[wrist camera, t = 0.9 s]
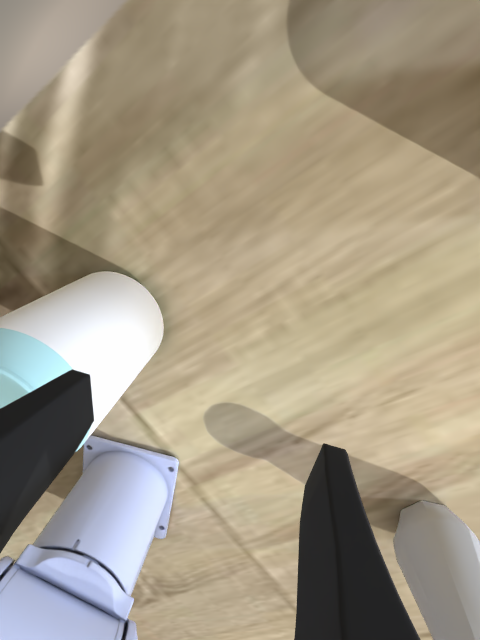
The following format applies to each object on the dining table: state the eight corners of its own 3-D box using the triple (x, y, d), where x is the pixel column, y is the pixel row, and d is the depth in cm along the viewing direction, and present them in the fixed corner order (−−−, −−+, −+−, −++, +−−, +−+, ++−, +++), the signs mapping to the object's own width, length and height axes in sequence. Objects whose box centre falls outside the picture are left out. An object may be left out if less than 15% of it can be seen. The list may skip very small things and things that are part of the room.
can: (115, 247, 24) (-41, 310, 13) (187, 326, 25) (103, 445, 14) (52, 309, 26) (-125, 406, 15) (121, 378, 28) (6, 514, 16)
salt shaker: (468, 543, 29) (592, 805, 17) (393, 549, 30) (458, 796, 18) (461, 487, 27) (594, 738, 15) (381, 496, 28) (444, 732, 16)
